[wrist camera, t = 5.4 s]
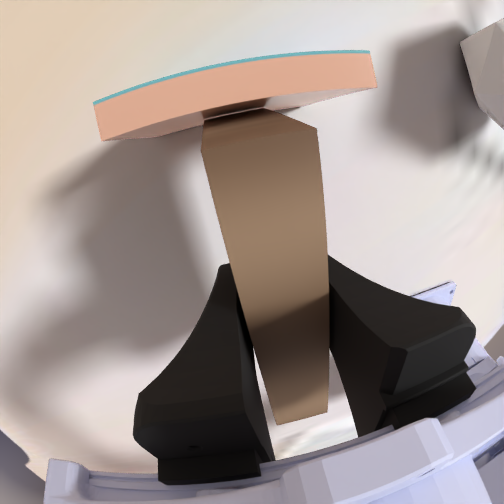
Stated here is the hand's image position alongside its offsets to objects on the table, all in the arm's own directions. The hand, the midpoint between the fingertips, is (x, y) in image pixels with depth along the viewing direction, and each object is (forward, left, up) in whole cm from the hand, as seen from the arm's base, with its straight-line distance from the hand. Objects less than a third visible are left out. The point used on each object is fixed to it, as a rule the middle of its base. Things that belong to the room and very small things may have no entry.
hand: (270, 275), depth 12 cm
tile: (+6, 0, -7) cm, 9 cm away
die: (+8, -19, -7) cm, 22 cm away
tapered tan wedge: (0, 0, -2) cm, 2 cm away
